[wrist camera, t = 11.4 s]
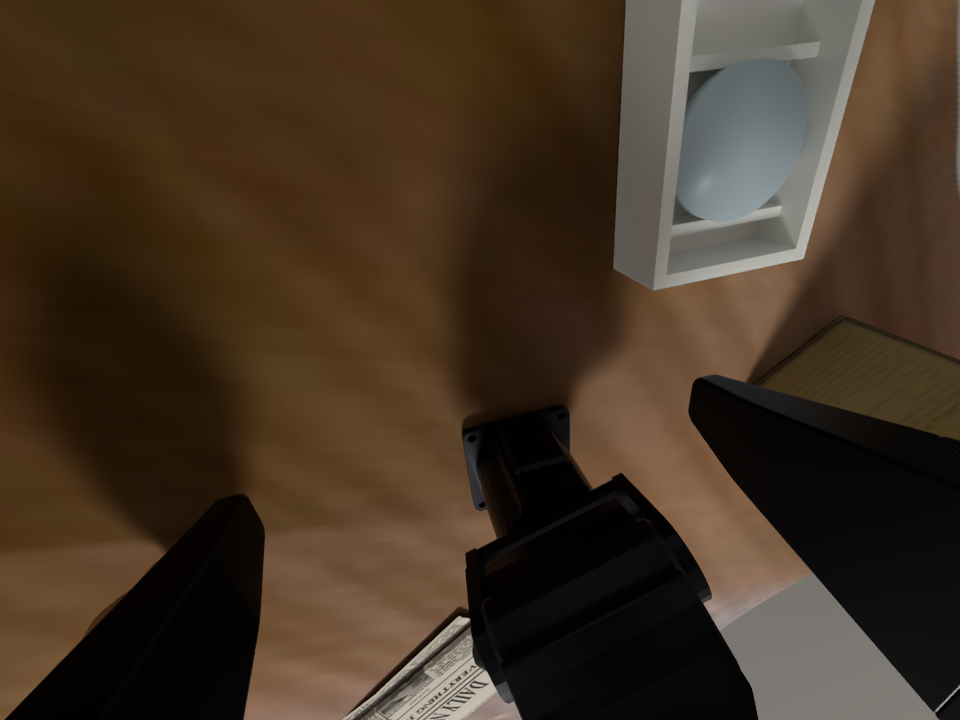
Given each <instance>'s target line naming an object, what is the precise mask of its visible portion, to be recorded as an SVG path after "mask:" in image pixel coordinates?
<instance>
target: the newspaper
mask: <svg viewBox="0 0 960 720" xmlns="http://www.w3.org/2000/svg"><path fill="white" fill-rule="evenodd" d="M469 626H470V618H463V617H461V616H458V617H457V618H456V619H455V620H454V621H453V622H452V623H451V624H450V625H449V626H447V627H446V628H445V629H444V630H443V631H442V632H441V633H440V634H439V635H438V636H437V637H436V638H435V639H434V640H433V641H432V642H430V643H429V644H428V645H427V646H426V647H425V648H424V649H423V650H422V651H421V652H420V653H419V654H418V655H417V656H416V657H414V658H413V659H412V660H411V661H410V662H409V663H408V664H407V665H406V666H405V667H404V668H403V669H402V670H401V671H400V672H398V673H397V674H396V675H395V676H394V677H393V678H392V679H391V680H390V681H389V682H388V683H387V684H386V685H385V686H384V687H383V688H381V689H380V690H379V691H378V692H377V693H376V694H375V695H374V696H373V697H371V698H370V699H369V700H367V701H366V702H365V703H363V704H362V705H361V706H359V707H358V708H357V709H355V710H354V711H353V712H351V713H350V714H349V715H347V716H346V717H345V718H343V720H463V719H464V718H466V717H467V716H468V715H469V714H471V713H472V712H473V711H474V710H476V709H477V708H478V707H479V706H481V705H482V704H483V703H484V702H486V701H487V700H488V699H489V698H491V697H492V696H493V695H494V694H496V693H497V690H496V688H495V687H494V685H493V683H492V681H491V679H490V677H489V675H488V673H487V672H486V671H485V670H483V669H481V668H479V667H478V666H477V665H476V663H475V661H474V658H473V655H472V647H473V639H472V635H471V627H469ZM468 627H469V628H468ZM467 628H468V629H467ZM466 629H467V630H466ZM465 630H466V631H465ZM463 631H465V632H464V633H462V632H463ZM461 633H462V634H461ZM460 634H461V635H460ZM459 635H460V636H459ZM458 636H459V637H458ZM457 637H458V638H457ZM455 638H457V639H455ZM454 639H455V640H454ZM453 640H454V641H453ZM452 641H453V642H452ZM451 642H452V643H451ZM450 643H451V644H450ZM449 644H450V645H449ZM446 646H447V647H446ZM445 647H446V648H445ZM444 648H445V649H444ZM443 649H444V650H443ZM438 653H439V654H438ZM437 654H438V655H437ZM436 655H437V656H436ZM429 661H430V662H429ZM415 673H416V674H415ZM409 678H410V679H409ZM408 679H409V680H408ZM403 683H404V684H403ZM402 684H403V685H402ZM397 688H398V689H397ZM396 689H397V690H396ZM395 690H396V691H395ZM389 695H390V696H389Z"/></svg>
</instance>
